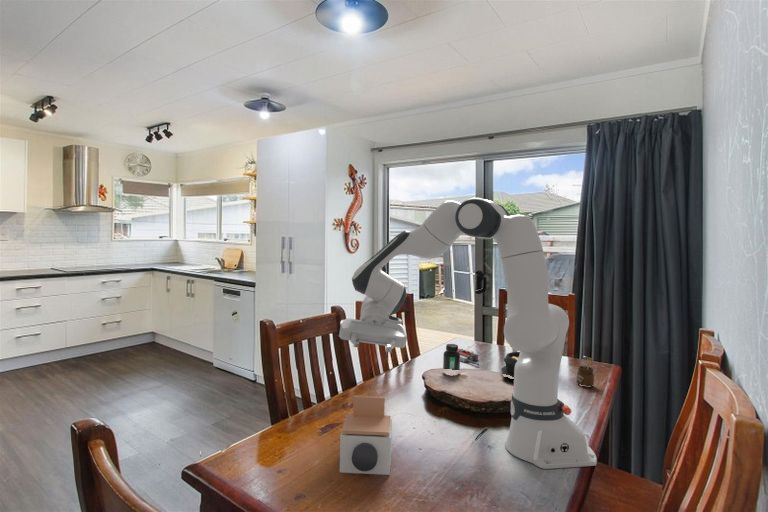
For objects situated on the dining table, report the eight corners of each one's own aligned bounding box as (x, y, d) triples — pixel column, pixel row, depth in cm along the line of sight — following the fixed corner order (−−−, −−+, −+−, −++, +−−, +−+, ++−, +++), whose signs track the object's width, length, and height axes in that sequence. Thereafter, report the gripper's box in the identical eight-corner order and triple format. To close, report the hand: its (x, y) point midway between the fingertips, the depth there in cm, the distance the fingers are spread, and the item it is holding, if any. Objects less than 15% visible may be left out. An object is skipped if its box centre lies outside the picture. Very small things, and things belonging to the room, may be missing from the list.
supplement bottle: (454, 377, 167) (455, 348, 167) (439, 374, 171) (440, 345, 171) (462, 373, 173) (463, 345, 172) (447, 370, 177) (448, 342, 176)
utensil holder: (589, 383, 165) (591, 353, 164) (596, 388, 158) (597, 357, 158) (574, 382, 165) (575, 352, 165) (580, 388, 159) (581, 357, 158)
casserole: (537, 390, 155) (538, 368, 155) (490, 379, 167) (491, 358, 166) (556, 374, 175) (557, 354, 174) (513, 365, 186) (514, 346, 186)
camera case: (391, 452, 108) (392, 419, 108) (389, 478, 97) (390, 441, 96) (345, 450, 109) (346, 417, 108) (338, 476, 97) (339, 438, 97)
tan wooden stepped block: (390, 418, 108) (390, 396, 107) (389, 435, 98) (389, 411, 98) (347, 416, 108) (347, 395, 108) (342, 433, 99) (342, 409, 99)
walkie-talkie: (446, 356, 198) (476, 368, 181) (446, 347, 198) (477, 358, 181) (460, 354, 203) (491, 365, 186) (460, 345, 203) (491, 355, 186)
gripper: (342, 310, 129) (337, 332, 116) (406, 319, 131) (409, 343, 118) (339, 327, 132) (334, 351, 118) (402, 337, 133) (405, 362, 120)
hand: (372, 347), depth 118 cm, fingers open, 8 cm apart
